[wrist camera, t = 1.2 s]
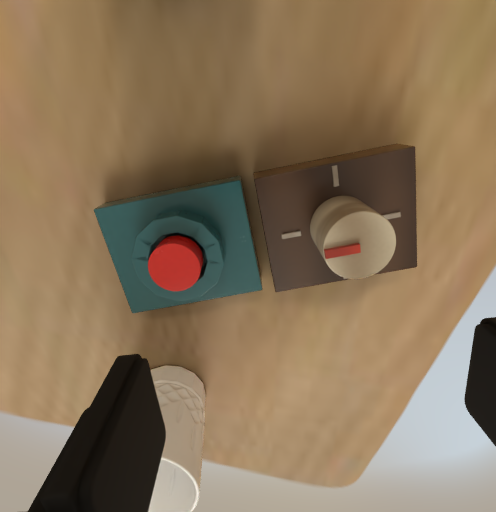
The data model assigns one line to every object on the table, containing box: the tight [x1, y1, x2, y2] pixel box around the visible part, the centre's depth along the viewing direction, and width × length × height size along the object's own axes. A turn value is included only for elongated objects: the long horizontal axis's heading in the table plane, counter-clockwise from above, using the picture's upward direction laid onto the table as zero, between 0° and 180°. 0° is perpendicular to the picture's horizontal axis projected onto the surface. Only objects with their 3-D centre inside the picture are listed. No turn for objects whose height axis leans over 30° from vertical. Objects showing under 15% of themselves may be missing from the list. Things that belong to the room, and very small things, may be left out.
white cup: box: [148, 365, 206, 512], centre depth 29 cm, size 8×8×10 cm
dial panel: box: [253, 144, 417, 292], centre depth 26 cm, size 11×9×3 cm
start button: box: [148, 236, 203, 291], centre depth 24 cm, size 4×4×2 cm
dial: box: [310, 196, 396, 279], centre depth 22 cm, size 4×4×5 cm
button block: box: [94, 176, 262, 313], centre depth 26 cm, size 11×9×4 cm
